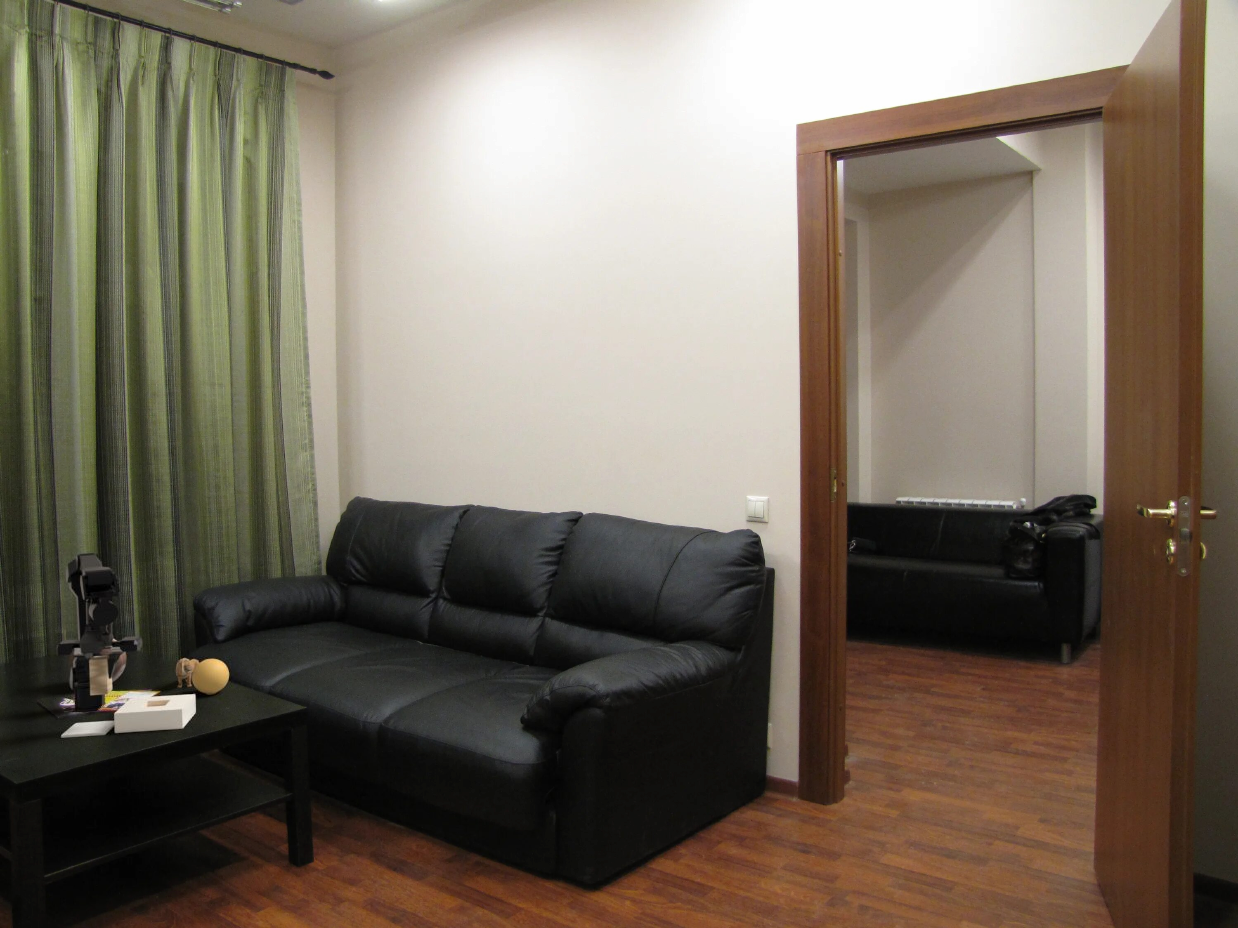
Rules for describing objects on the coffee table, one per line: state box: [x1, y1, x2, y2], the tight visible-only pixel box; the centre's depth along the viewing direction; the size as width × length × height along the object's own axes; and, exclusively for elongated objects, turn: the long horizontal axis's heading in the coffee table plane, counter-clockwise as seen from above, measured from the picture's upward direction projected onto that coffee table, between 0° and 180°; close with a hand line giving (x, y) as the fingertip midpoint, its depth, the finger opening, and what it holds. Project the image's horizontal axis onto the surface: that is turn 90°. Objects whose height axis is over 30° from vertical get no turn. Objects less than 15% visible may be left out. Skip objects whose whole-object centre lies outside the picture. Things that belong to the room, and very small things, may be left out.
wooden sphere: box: [68, 638, 127, 683], centre depth 283 cm, size 15×15×15 cm
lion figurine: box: [174, 657, 200, 688], centre depth 285 cm, size 15×5×9 cm, turn 10°
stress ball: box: [191, 658, 230, 696], centre depth 274 cm, size 10×10×10 cm
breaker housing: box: [113, 693, 197, 734], centre depth 247 cm, size 16×14×5 cm
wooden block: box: [89, 656, 113, 695], centre depth 242 cm, size 4×4×9 cm
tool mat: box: [60, 720, 115, 739], centre depth 241 cm, size 10×10×1 cm
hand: (100, 678), depth 242 cm, fingers closed on wooden block, 4 cm apart
